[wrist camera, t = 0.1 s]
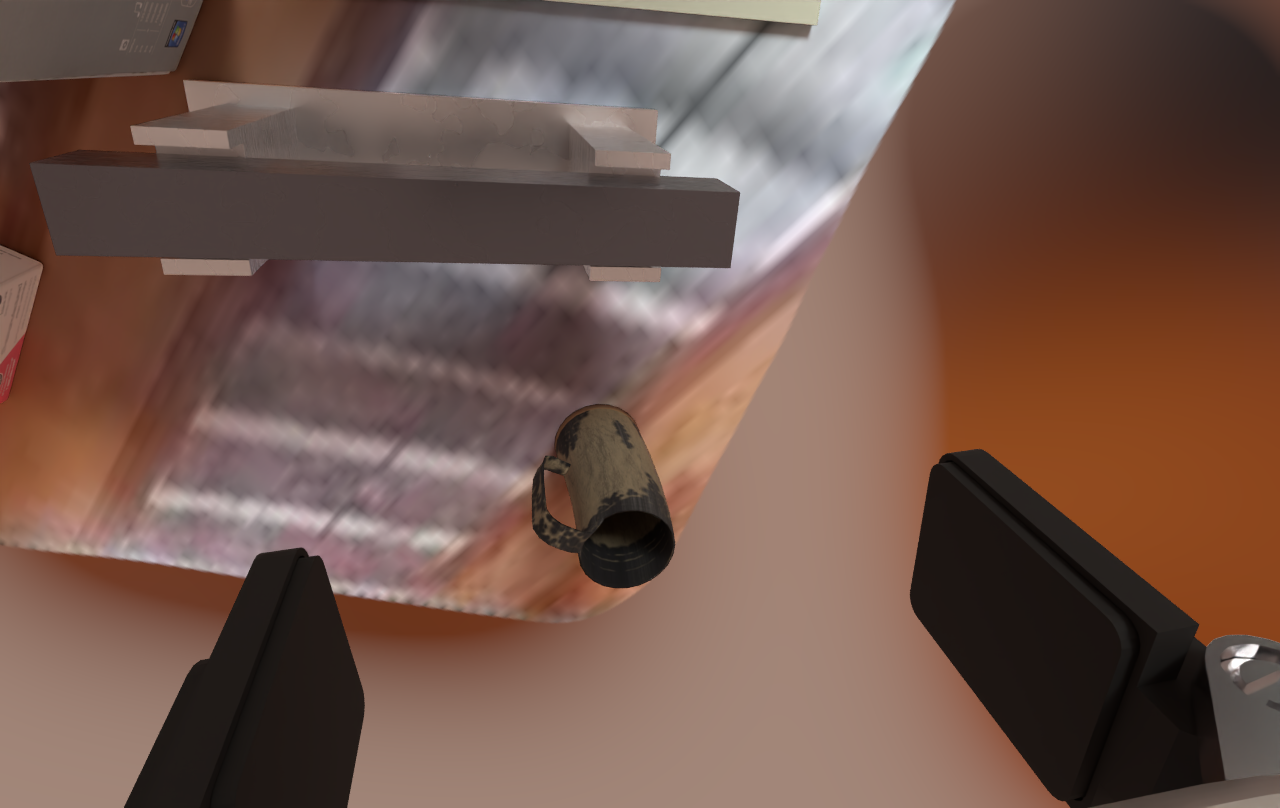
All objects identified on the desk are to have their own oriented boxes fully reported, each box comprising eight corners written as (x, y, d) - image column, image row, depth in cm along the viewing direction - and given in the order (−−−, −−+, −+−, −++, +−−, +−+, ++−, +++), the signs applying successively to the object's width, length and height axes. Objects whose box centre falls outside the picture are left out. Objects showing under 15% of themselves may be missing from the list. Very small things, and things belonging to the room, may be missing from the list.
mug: (657, 425, 46) (708, 538, 35) (616, 491, 48) (652, 618, 37) (547, 376, 43) (567, 484, 32) (507, 448, 45) (513, 574, 34)
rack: (189, 79, 33) (72, 94, 24) (654, 109, 37) (710, 131, 28) (218, 231, 36) (124, 297, 27) (644, 242, 40) (691, 302, 31)
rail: (79, 149, 26) (29, 163, 23) (716, 178, 30) (740, 192, 28) (100, 233, 27) (56, 255, 24) (708, 248, 32) (730, 267, 29)
